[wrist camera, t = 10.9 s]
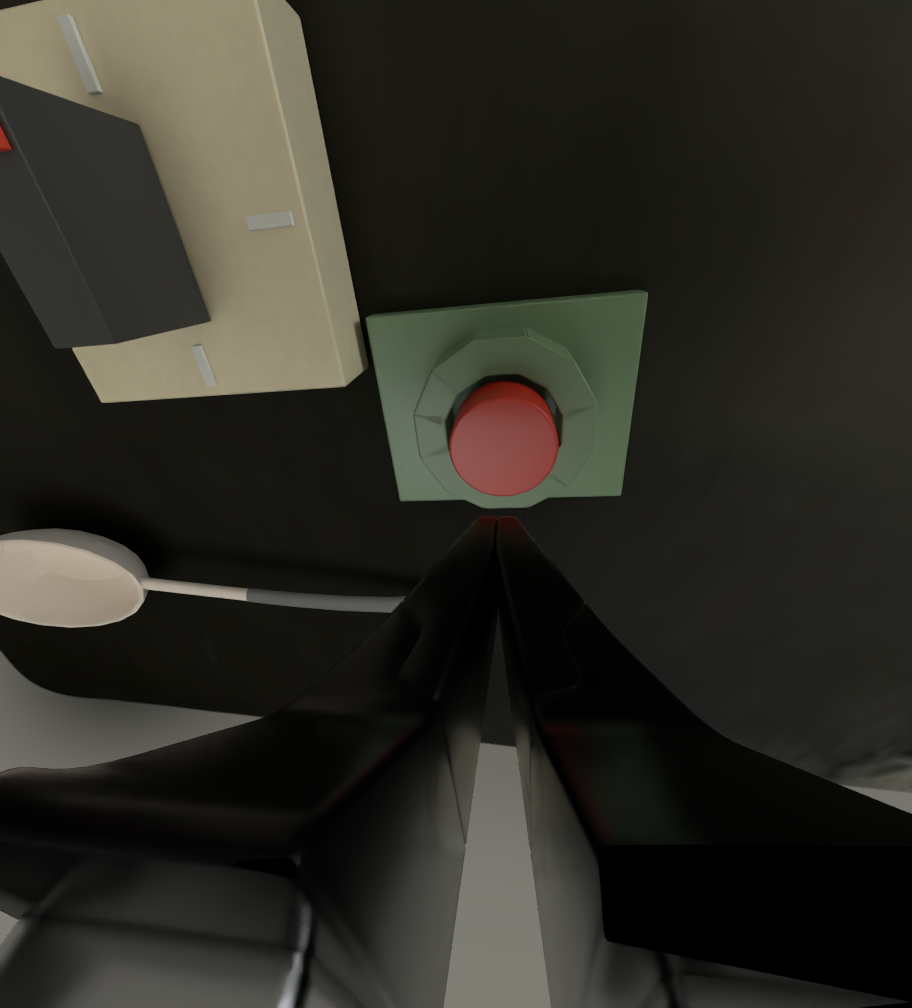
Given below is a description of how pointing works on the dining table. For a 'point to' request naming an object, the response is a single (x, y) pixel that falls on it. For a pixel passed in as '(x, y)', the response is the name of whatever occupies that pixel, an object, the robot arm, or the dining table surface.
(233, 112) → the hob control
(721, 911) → the robot arm
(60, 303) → the hob knob
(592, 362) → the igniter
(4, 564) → the ladle
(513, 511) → the dining table surface
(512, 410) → the button
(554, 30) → the dining table surface
